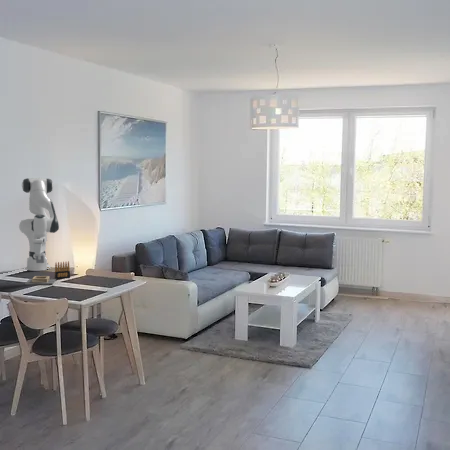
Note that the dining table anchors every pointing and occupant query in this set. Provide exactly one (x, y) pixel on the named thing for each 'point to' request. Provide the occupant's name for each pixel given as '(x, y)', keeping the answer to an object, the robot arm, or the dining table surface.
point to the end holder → (40, 280)
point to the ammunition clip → (62, 270)
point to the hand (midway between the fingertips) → (40, 258)
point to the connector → (41, 258)
